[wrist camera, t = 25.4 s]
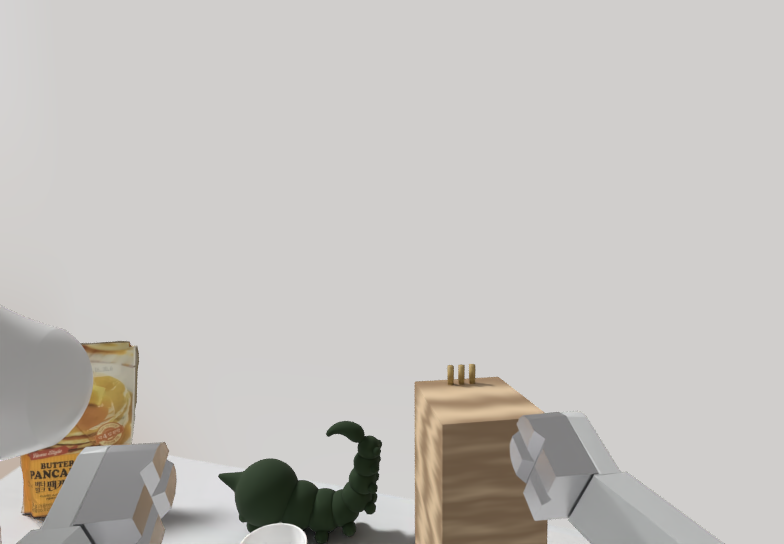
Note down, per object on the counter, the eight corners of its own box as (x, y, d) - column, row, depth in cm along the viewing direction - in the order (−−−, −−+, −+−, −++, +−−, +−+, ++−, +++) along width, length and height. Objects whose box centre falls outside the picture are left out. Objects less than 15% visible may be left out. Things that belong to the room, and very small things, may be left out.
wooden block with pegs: (545, 640, 49) (549, 394, 47) (442, 657, 47) (442, 401, 45) (496, 552, 62) (498, 359, 60) (415, 562, 61) (414, 363, 59)
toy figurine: (375, 523, 72) (228, 507, 73) (385, 413, 70) (234, 398, 71) (370, 565, 62) (201, 547, 63) (381, 439, 61) (208, 422, 62)
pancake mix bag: (27, 500, 76) (17, 343, 74) (146, 485, 81) (139, 337, 79) (3, 524, 70) (-10, 353, 68) (134, 506, 74) (126, 346, 72)
